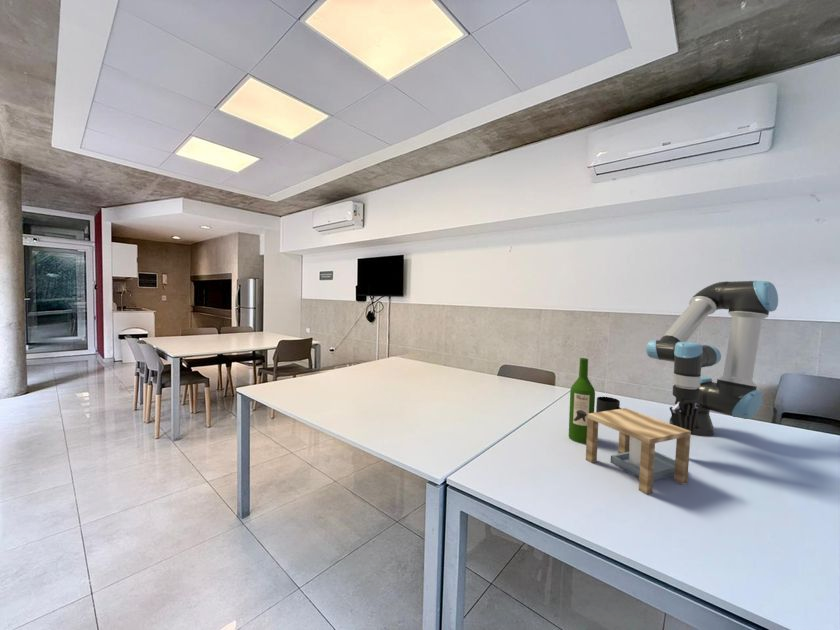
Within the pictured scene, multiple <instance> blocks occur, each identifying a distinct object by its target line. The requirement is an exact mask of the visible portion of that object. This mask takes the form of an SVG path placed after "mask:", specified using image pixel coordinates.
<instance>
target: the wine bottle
mask: <svg viewBox="0 0 840 630" xmlns="http://www.w3.org/2000/svg"><path fill="white" fill-rule="evenodd" d="M588 373H589V359H588V358H584V357H580V358H579V367H578V378H577V379H576V380H575V381H574V383H573V384H572V385H571V387H570V391H569V418H568V419H569V420H568V438H569V439H570V440H571V441H573V442H576V443H579V444H586V442H587V420H588V414H589V413H595V406H596V405H595V403H596V401H595V400H596V392H595V388H594V386H593V385H592V383H591V382H590V380H589V376H588Z"/></svg>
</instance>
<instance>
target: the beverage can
mask: <svg viewBox="0 0 840 630" xmlns="http://www.w3.org/2000/svg"><path fill="white" fill-rule="evenodd" d="M640 457H641V441H640V440H638V439H636V438H633V437H631V436H630V445H629V463H630V464H631V465H633V466H635V467H637V468H639V469H640Z"/></svg>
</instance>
